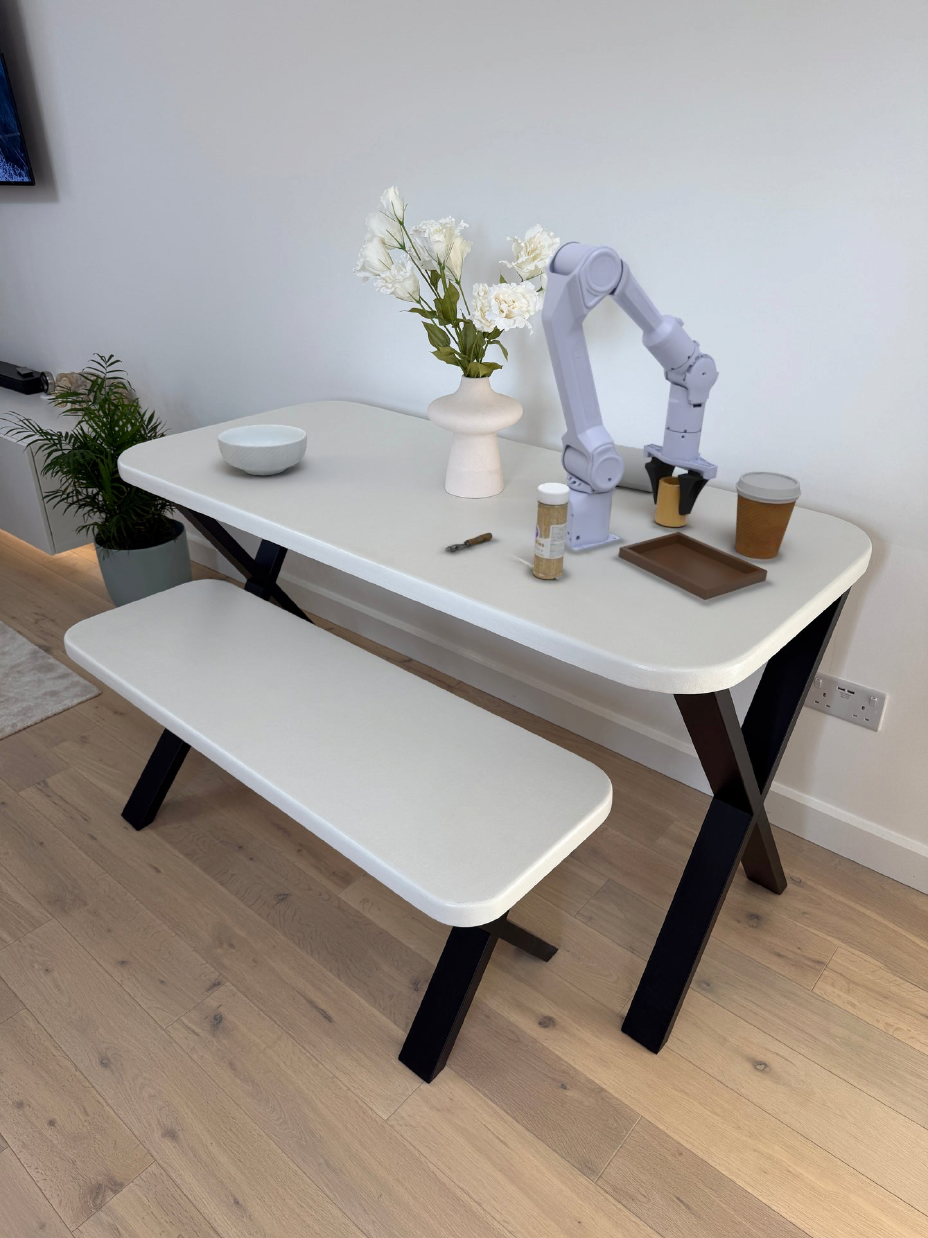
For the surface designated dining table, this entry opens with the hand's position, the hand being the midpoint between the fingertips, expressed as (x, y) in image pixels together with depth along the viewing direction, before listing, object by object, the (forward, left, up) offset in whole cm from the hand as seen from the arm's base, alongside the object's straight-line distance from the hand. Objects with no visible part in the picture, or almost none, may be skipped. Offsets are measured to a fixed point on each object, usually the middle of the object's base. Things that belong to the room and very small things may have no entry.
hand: (672, 508), depth 142 cm
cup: (0, 0, -2) cm, 2 cm away
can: (+11, +14, +1) cm, 17 cm away
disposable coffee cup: (+3, -16, -3) cm, 16 cm away
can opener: (-34, +10, -3) cm, 36 cm away
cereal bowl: (-47, +63, -3) cm, 79 cm away
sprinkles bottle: (-30, -5, -3) cm, 31 cm away
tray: (-11, -15, -3) cm, 19 cm away
